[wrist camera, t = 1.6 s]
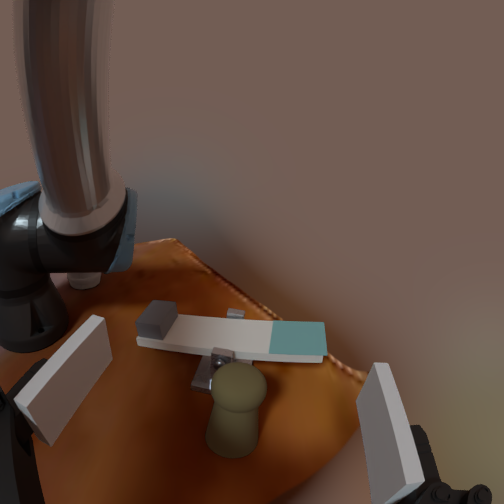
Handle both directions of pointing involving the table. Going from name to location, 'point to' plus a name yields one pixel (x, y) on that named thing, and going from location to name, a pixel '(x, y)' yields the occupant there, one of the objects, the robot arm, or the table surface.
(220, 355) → the stand
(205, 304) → the table surface
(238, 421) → the cork
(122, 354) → the table surface
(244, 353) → the beam
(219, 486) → the table surface
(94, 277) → the mug
